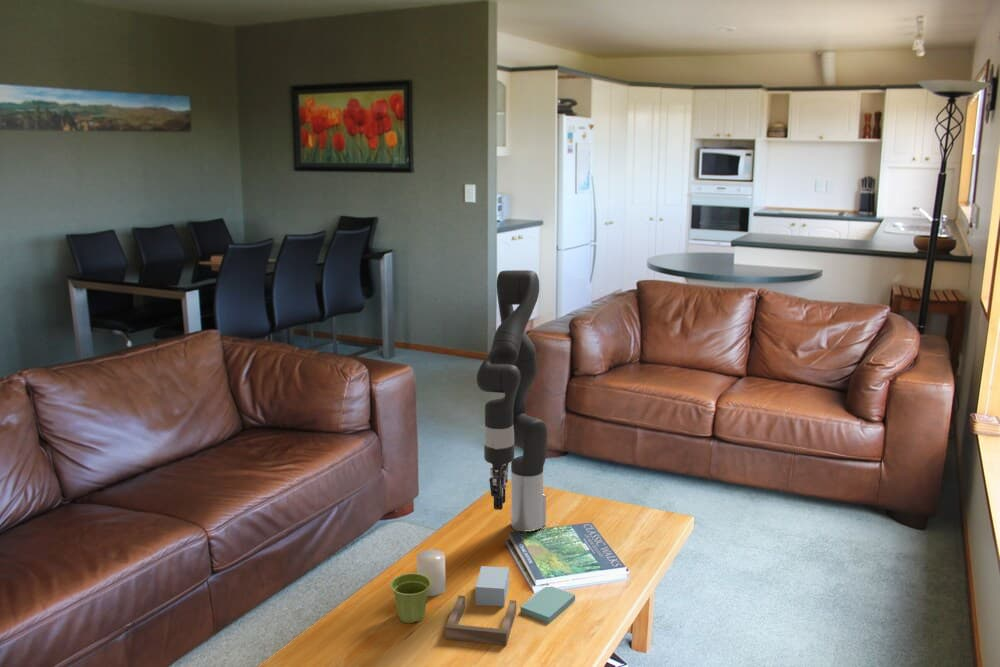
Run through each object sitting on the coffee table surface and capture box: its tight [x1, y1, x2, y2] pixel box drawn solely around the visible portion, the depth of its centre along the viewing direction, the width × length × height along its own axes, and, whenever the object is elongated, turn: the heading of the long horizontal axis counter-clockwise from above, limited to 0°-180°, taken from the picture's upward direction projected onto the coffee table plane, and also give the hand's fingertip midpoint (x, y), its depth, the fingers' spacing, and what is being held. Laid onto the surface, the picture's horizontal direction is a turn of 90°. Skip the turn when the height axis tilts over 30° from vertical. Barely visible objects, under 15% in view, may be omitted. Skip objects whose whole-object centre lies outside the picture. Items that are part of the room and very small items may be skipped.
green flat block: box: [519, 585, 576, 624], centre depth 200 cm, size 12×8×2 cm, turn 145°
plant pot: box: [390, 572, 431, 624], centre depth 195 cm, size 9×9×9 cm
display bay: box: [444, 595, 517, 646], centre depth 192 cm, size 14×14×3 cm
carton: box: [475, 565, 510, 607], centre depth 205 cm, size 10×7×5 cm
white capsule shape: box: [416, 548, 447, 597], centre depth 207 cm, size 7×7×9 cm
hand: (499, 505), depth 210 cm, fingers open, 3 cm apart
